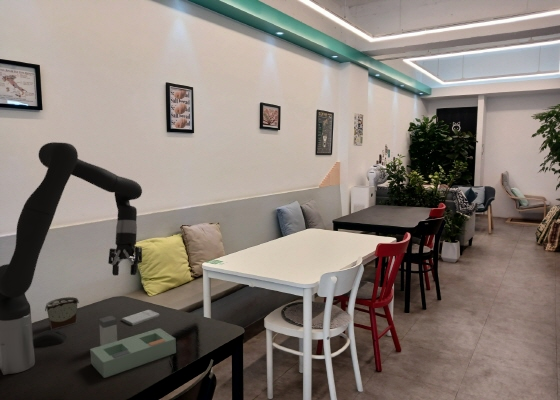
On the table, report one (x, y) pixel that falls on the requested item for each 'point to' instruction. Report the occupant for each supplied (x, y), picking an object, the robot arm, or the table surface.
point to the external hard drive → (140, 317)
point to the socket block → (132, 352)
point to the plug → (107, 330)
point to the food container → (62, 312)
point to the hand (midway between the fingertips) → (124, 275)
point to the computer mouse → (49, 338)
